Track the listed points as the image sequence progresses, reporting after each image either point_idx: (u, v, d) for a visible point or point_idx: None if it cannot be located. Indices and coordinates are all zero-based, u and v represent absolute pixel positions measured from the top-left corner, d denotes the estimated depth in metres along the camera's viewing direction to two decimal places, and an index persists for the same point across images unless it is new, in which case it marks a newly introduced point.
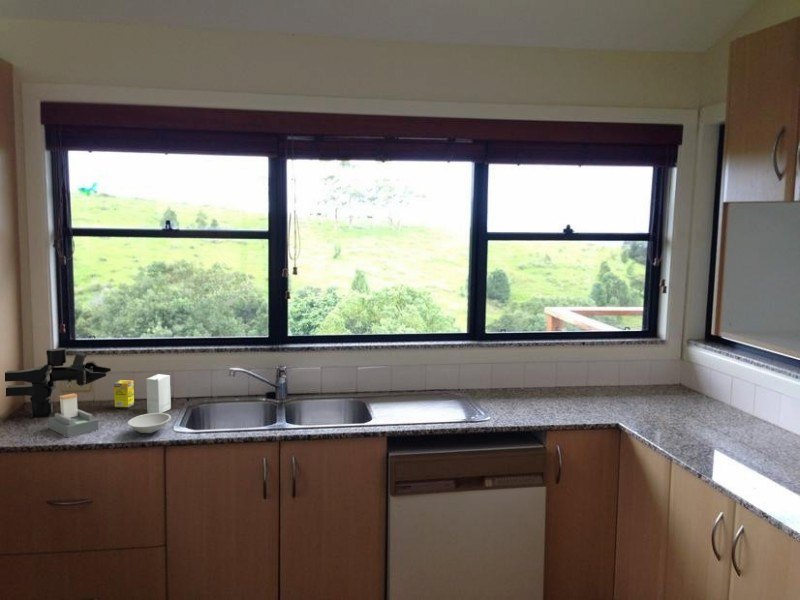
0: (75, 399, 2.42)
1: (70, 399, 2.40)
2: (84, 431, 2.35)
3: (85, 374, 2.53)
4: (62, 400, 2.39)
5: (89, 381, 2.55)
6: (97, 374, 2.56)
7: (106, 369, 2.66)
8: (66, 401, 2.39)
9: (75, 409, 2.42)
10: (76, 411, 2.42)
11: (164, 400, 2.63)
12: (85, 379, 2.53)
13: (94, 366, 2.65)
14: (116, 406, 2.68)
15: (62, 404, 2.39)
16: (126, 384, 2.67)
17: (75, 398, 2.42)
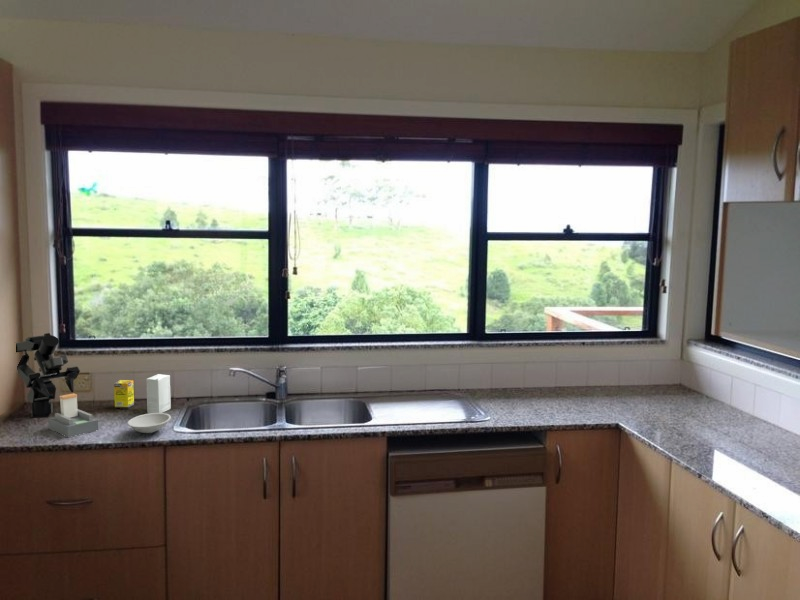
0: (75, 399, 2.42)
1: (70, 399, 2.40)
2: (84, 431, 2.35)
3: (33, 381, 2.42)
4: (62, 400, 2.39)
5: (36, 388, 2.44)
6: (43, 389, 2.42)
7: (70, 388, 2.50)
8: (66, 401, 2.39)
9: (75, 409, 2.42)
10: (76, 411, 2.42)
11: (164, 400, 2.63)
12: (32, 384, 2.43)
13: (69, 376, 2.51)
14: (116, 406, 2.68)
15: (62, 404, 2.39)
16: (126, 384, 2.67)
17: (75, 398, 2.42)
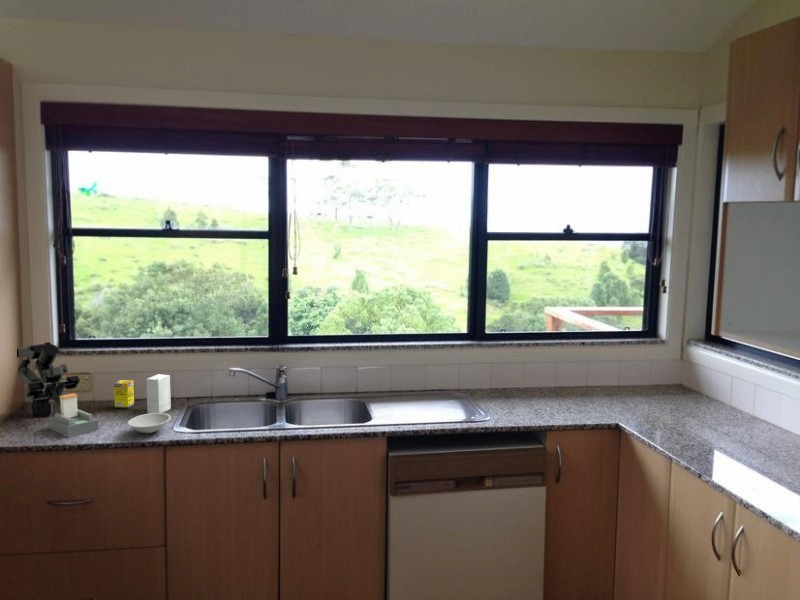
0: (75, 399, 2.42)
1: (70, 399, 2.40)
2: (84, 431, 2.35)
3: (45, 389, 2.45)
4: (62, 400, 2.39)
5: (47, 395, 2.47)
6: (54, 397, 2.46)
7: None
8: (66, 401, 2.39)
9: (75, 409, 2.42)
10: (76, 411, 2.42)
11: (164, 400, 2.63)
12: (43, 391, 2.46)
13: (57, 387, 2.48)
14: (116, 406, 2.68)
15: (62, 404, 2.39)
16: (126, 384, 2.67)
17: (75, 398, 2.42)
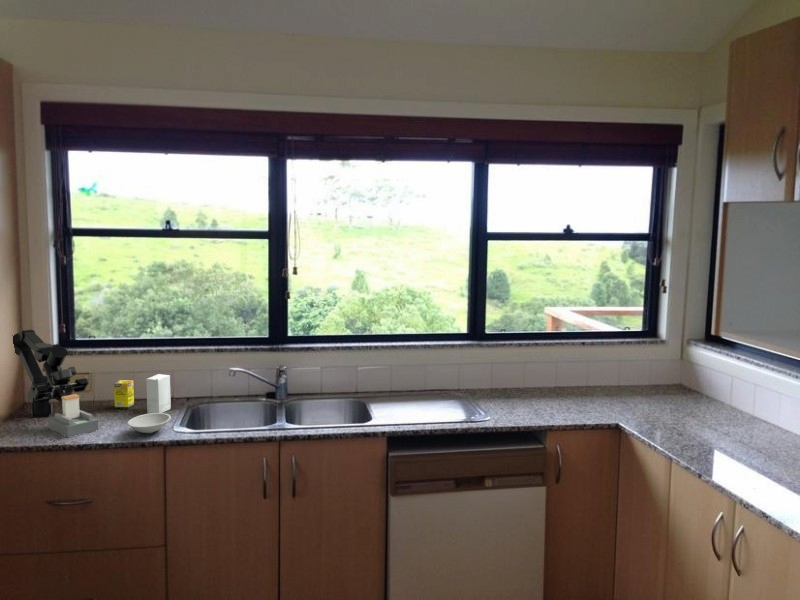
0: (77, 399, 2.41)
1: (72, 400, 2.39)
2: (84, 431, 2.35)
3: (53, 391, 2.40)
4: (64, 401, 2.38)
5: (56, 398, 2.43)
6: None
7: None
8: (68, 402, 2.38)
9: (77, 410, 2.41)
10: (78, 412, 2.41)
11: (164, 400, 2.63)
12: (52, 394, 2.41)
13: (66, 390, 2.43)
14: (116, 406, 2.68)
15: (64, 405, 2.38)
16: (126, 384, 2.67)
17: (77, 399, 2.41)
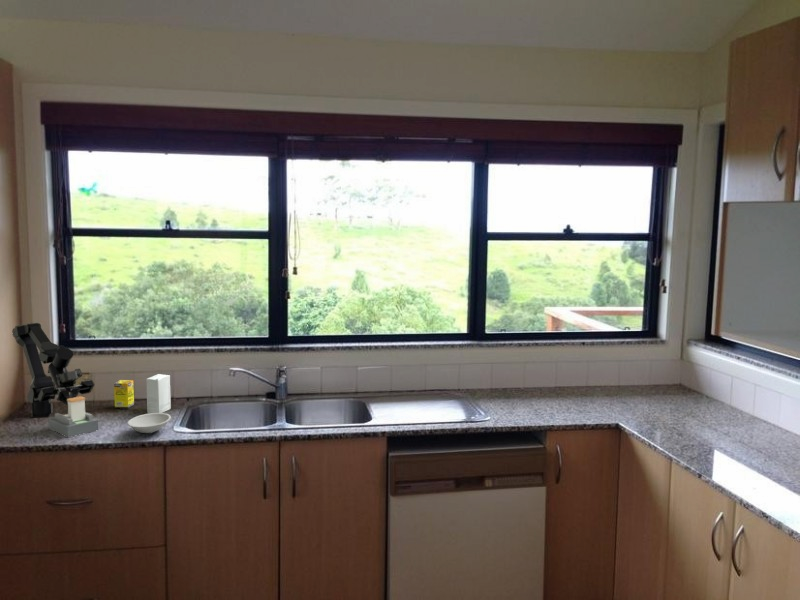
0: (83, 402, 2.38)
1: (78, 402, 2.36)
2: (84, 431, 2.35)
3: (59, 394, 2.37)
4: (70, 403, 2.35)
5: (61, 400, 2.40)
6: None
7: None
8: (74, 404, 2.35)
9: (83, 412, 2.38)
10: (84, 414, 2.38)
11: (164, 400, 2.63)
12: (57, 396, 2.38)
13: (71, 392, 2.40)
14: (116, 406, 2.68)
15: (70, 407, 2.35)
16: (126, 384, 2.67)
17: (83, 401, 2.38)
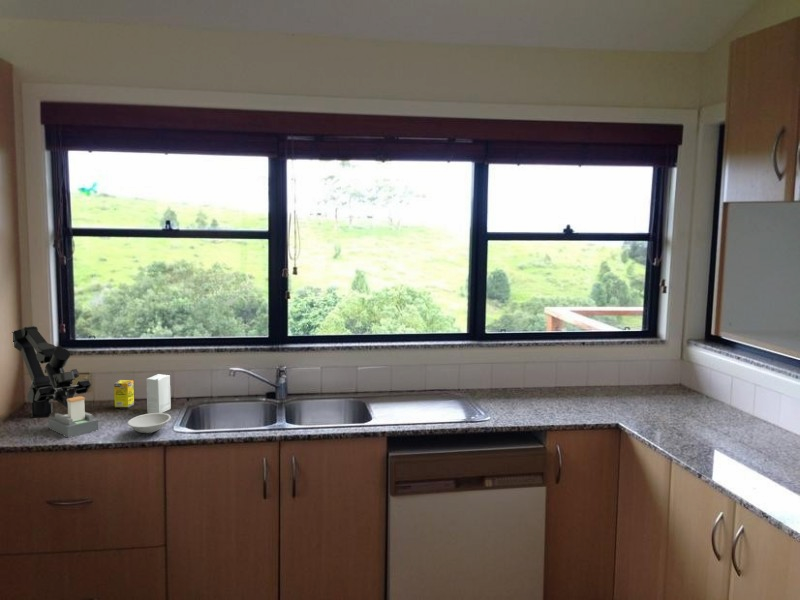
0: (83, 402, 2.38)
1: (77, 402, 2.36)
2: (84, 431, 2.35)
3: (55, 394, 2.39)
4: (69, 403, 2.35)
5: (58, 400, 2.42)
6: (65, 402, 2.40)
7: None
8: (73, 404, 2.35)
9: (82, 412, 2.38)
10: (83, 414, 2.39)
11: (164, 400, 2.63)
12: (54, 396, 2.40)
13: (68, 392, 2.42)
14: (116, 406, 2.68)
15: (69, 407, 2.35)
16: (126, 384, 2.67)
17: (82, 401, 2.38)
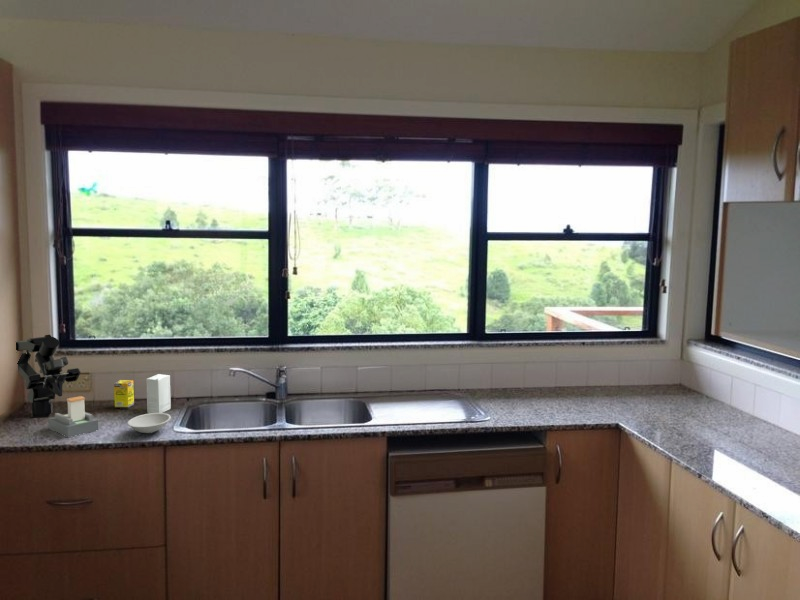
0: (83, 402, 2.38)
1: (77, 402, 2.36)
2: (84, 431, 2.35)
3: (45, 381, 2.44)
4: (69, 403, 2.35)
5: (48, 387, 2.47)
6: (55, 389, 2.45)
7: None
8: (73, 404, 2.35)
9: (82, 412, 2.38)
10: (83, 414, 2.39)
11: (164, 400, 2.63)
12: (44, 384, 2.45)
13: (58, 380, 2.47)
14: (116, 406, 2.68)
15: (69, 407, 2.35)
16: (126, 384, 2.67)
17: (82, 401, 2.38)
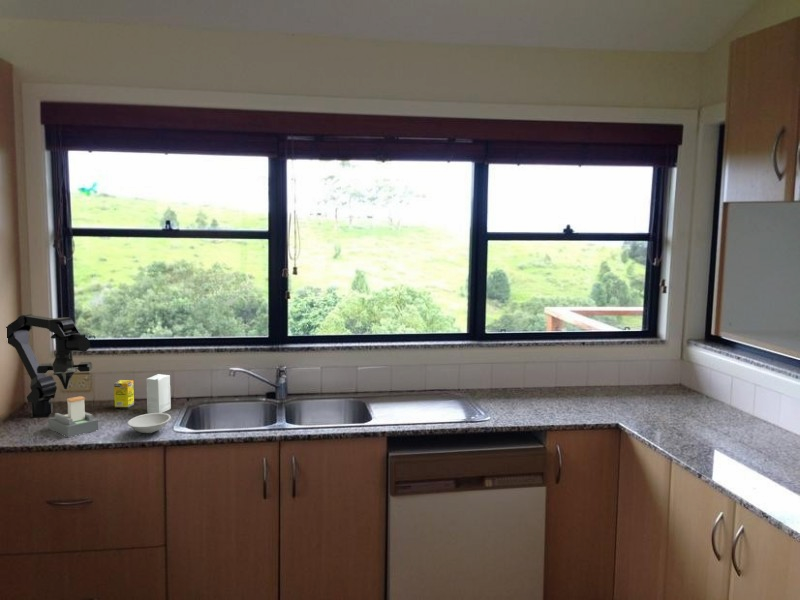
0: (83, 402, 2.38)
1: (77, 402, 2.36)
2: (84, 431, 2.35)
3: None
4: (69, 403, 2.35)
5: None
6: None
7: None
8: (73, 404, 2.35)
9: (82, 412, 2.38)
10: (83, 414, 2.39)
11: (164, 400, 2.63)
12: None
13: (66, 374, 2.50)
14: (116, 406, 2.68)
15: (69, 407, 2.35)
16: (126, 384, 2.67)
17: (82, 401, 2.38)
